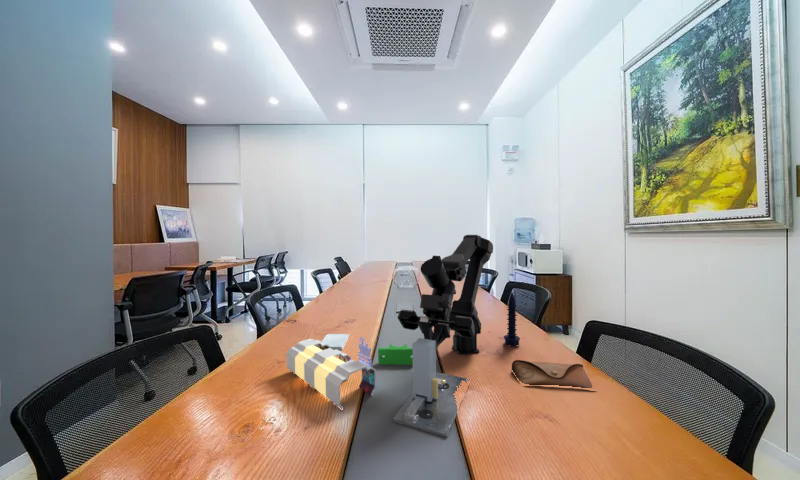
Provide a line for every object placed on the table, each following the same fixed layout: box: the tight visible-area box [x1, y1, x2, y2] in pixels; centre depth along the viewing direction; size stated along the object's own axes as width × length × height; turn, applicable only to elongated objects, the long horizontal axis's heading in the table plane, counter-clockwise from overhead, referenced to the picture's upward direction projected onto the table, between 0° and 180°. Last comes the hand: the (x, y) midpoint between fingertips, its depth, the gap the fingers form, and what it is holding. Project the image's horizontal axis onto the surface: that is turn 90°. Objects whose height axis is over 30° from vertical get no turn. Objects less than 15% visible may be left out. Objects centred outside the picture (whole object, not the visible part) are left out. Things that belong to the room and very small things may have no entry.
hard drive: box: [320, 333, 350, 351], centre depth 100 cm, size 2×8×12 cm
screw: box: [503, 291, 521, 347], centre depth 97 cm, size 18×5×5 cm
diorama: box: [286, 336, 377, 410], centre depth 73 cm, size 25×10×13 cm, turn 45°
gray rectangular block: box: [411, 337, 438, 402], centre depth 66 cm, size 4×5×12 cm
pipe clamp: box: [377, 343, 413, 366], centre depth 85 cm, size 11×4×5 cm, turn 89°
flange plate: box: [392, 371, 471, 438], centre depth 66 cm, size 22×11×2 cm, turn 155°
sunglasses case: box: [511, 359, 593, 388], centre depth 74 cm, size 18×7×7 cm, turn 82°
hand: (427, 356), depth 68 cm, fingers closed
